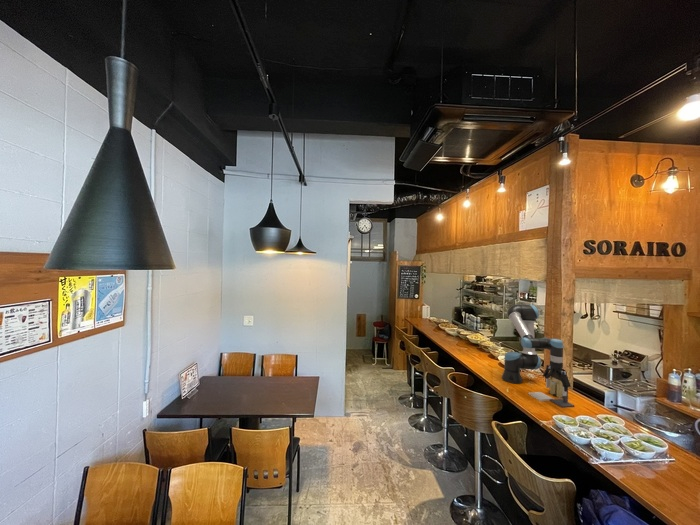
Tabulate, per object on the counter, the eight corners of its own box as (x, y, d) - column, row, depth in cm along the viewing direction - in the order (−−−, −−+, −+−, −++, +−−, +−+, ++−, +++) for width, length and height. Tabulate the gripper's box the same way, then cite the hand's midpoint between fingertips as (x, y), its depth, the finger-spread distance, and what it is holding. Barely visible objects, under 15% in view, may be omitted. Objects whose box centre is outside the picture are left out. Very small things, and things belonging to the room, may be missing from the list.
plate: (528, 394, 217) (528, 392, 217) (540, 393, 219) (540, 391, 219) (540, 401, 206) (540, 399, 206) (553, 400, 208) (553, 398, 208)
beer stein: (570, 399, 210) (569, 371, 212) (553, 397, 213) (553, 370, 214) (559, 391, 225) (558, 365, 227) (544, 389, 228) (543, 364, 229)
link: (549, 393, 205) (550, 377, 205) (553, 392, 206) (553, 377, 206) (558, 397, 199) (558, 381, 199) (562, 397, 199) (562, 381, 199)
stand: (546, 401, 207) (546, 375, 207) (561, 399, 209) (561, 374, 209) (558, 408, 197) (558, 380, 197) (574, 406, 199) (574, 379, 199)
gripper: (537, 356, 214) (537, 384, 214) (568, 368, 190) (567, 400, 189) (546, 355, 215) (545, 383, 215) (577, 367, 191) (577, 399, 191)
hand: (555, 391), depth 202 cm, fingers open, 12 cm apart
